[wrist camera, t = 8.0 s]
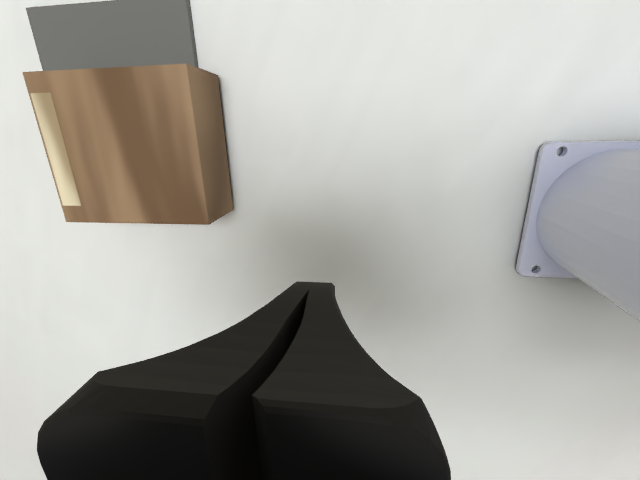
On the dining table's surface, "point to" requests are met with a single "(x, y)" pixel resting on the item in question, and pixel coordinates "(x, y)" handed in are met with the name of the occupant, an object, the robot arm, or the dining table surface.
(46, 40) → the rubber mat
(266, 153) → the dining table surface
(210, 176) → the walnut slab
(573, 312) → the dining table surface
